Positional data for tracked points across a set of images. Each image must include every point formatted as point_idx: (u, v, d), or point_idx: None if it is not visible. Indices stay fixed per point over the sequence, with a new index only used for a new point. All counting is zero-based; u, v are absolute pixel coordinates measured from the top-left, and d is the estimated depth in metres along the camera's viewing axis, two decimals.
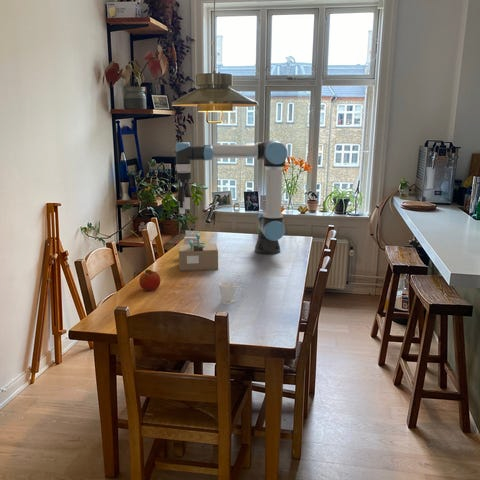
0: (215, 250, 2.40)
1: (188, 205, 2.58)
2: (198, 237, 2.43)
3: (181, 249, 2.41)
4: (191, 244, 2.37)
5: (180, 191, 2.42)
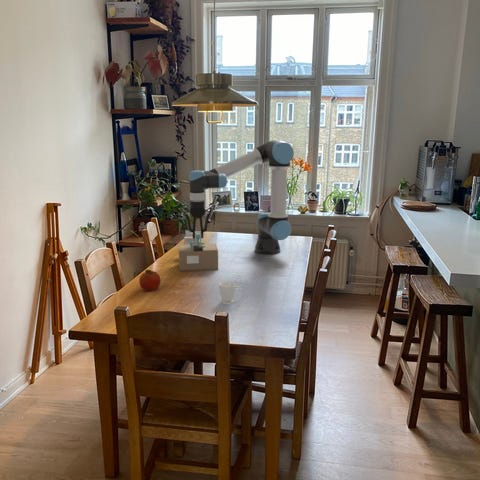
0: (215, 250, 2.40)
1: None
2: (198, 237, 2.43)
3: (181, 249, 2.41)
4: (191, 244, 2.37)
5: None
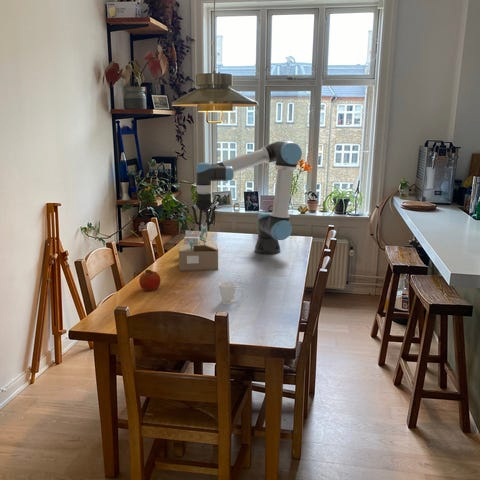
0: (216, 249, 2.40)
1: None
2: (204, 231, 2.43)
3: (181, 249, 2.41)
4: (191, 244, 2.37)
5: (194, 214, 2.44)
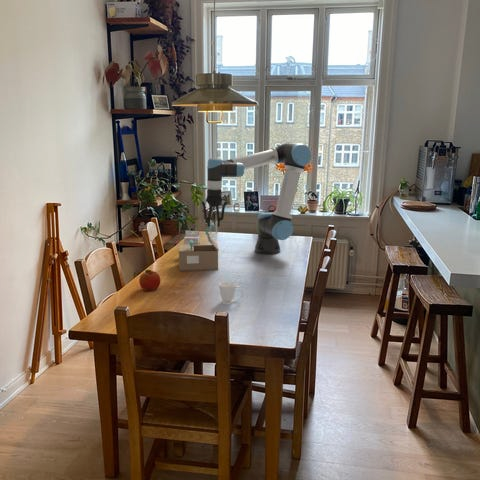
0: (216, 248, 2.40)
1: None
2: (213, 227, 2.43)
3: (181, 249, 2.41)
4: (191, 244, 2.37)
5: None
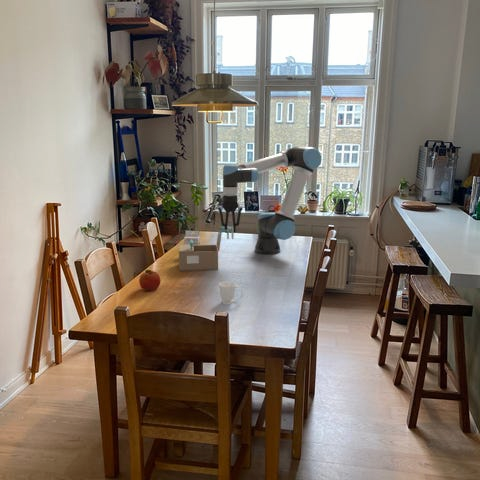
0: (219, 248, 2.40)
1: None
2: (230, 231, 2.45)
3: (181, 249, 2.41)
4: (191, 244, 2.37)
5: (220, 216, 2.46)
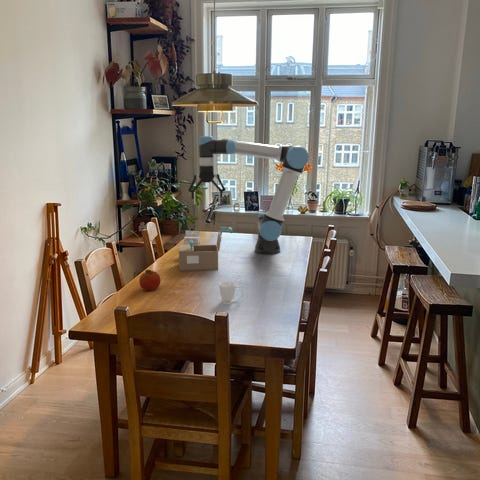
0: (219, 248, 2.40)
1: None
2: (231, 231, 2.45)
3: (181, 249, 2.41)
4: (191, 244, 2.37)
5: None
